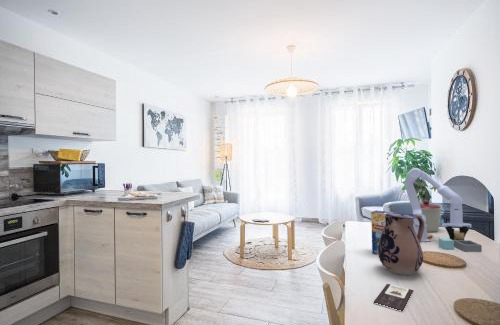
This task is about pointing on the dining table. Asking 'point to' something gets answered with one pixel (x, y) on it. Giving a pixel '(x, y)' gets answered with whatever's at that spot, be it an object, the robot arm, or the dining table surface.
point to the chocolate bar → (394, 297)
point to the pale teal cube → (446, 243)
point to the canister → (431, 215)
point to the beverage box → (377, 228)
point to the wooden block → (458, 235)
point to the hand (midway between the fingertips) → (456, 239)
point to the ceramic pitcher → (401, 243)
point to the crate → (467, 246)
